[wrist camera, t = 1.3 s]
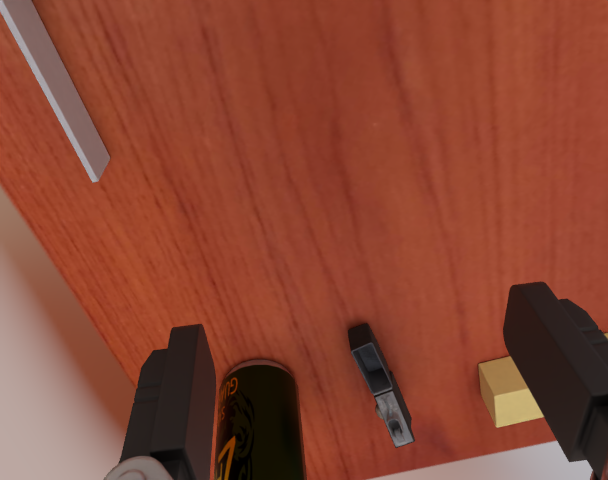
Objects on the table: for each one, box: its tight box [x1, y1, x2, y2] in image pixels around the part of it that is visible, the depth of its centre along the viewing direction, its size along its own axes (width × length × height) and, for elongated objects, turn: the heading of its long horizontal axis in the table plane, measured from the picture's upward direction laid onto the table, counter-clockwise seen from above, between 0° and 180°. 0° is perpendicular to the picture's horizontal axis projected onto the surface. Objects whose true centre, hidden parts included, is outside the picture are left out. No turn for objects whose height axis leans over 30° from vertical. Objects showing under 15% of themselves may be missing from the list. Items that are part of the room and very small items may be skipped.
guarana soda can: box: [214, 360, 307, 480], centre depth 31 cm, size 5×5×12 cm
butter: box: [478, 356, 544, 428], centre depth 37 cm, size 6×4×3 cm, turn 104°
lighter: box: [348, 323, 415, 448], centre depth 34 cm, size 8×2×5 cm
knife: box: [0, 0, 110, 183], centre depth 21 cm, size 14×2×3 cm, turn 14°
